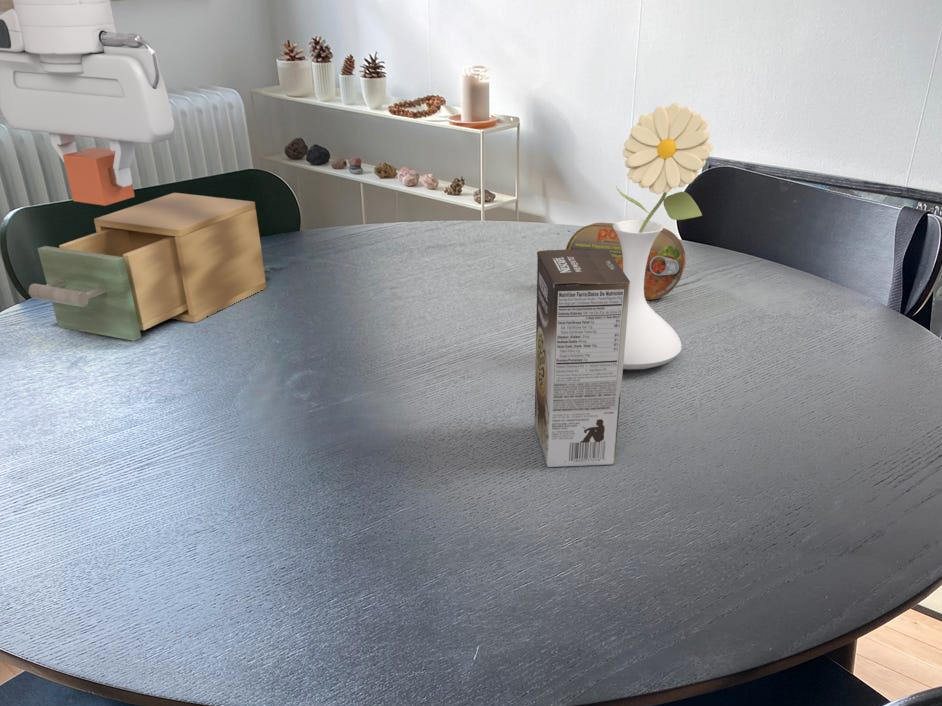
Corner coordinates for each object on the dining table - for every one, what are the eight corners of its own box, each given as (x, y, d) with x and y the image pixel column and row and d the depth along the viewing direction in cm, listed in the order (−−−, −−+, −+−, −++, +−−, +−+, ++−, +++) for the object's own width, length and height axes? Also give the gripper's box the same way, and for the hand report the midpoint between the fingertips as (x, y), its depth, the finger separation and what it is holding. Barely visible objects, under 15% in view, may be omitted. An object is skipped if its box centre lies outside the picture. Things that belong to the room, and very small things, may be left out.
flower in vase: (552, 361, 106) (562, 101, 91) (615, 333, 113) (634, 87, 98) (652, 393, 99) (680, 116, 84) (713, 361, 106) (749, 100, 91)
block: (105, 206, 102) (95, 158, 100) (72, 201, 104) (62, 154, 101) (135, 196, 106) (126, 151, 103) (103, 192, 107) (93, 147, 104)
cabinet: (195, 323, 117) (178, 229, 111) (114, 309, 122) (93, 218, 116) (266, 288, 128) (255, 201, 122) (189, 276, 132) (174, 192, 126)
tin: (562, 291, 126) (565, 221, 121) (569, 284, 128) (572, 215, 123) (678, 304, 121) (686, 232, 116) (683, 296, 124) (691, 226, 119)
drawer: (105, 354, 107) (85, 271, 102) (28, 339, 111) (4, 259, 106) (210, 305, 120) (196, 229, 115) (137, 293, 124) (121, 219, 119)
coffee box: (531, 425, 93) (535, 249, 84) (598, 422, 94) (610, 246, 84) (544, 469, 86) (550, 281, 76) (617, 465, 86) (632, 278, 77)
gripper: (173, 31, 94) (198, 186, 102) (17, 22, 101) (51, 167, 110) (128, 37, 90) (157, 199, 98) (-33, 27, 97) (7, 179, 105)
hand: (100, 182), depth 104 cm, fingers closed on block, 4 cm apart
